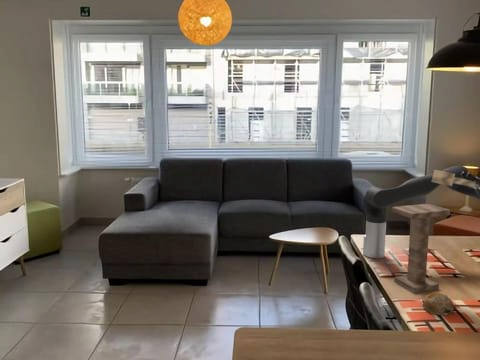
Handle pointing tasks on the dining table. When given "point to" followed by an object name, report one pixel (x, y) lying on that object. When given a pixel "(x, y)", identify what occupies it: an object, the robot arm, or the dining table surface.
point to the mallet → (450, 179)
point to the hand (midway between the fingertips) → (464, 174)
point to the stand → (418, 245)
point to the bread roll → (438, 304)
